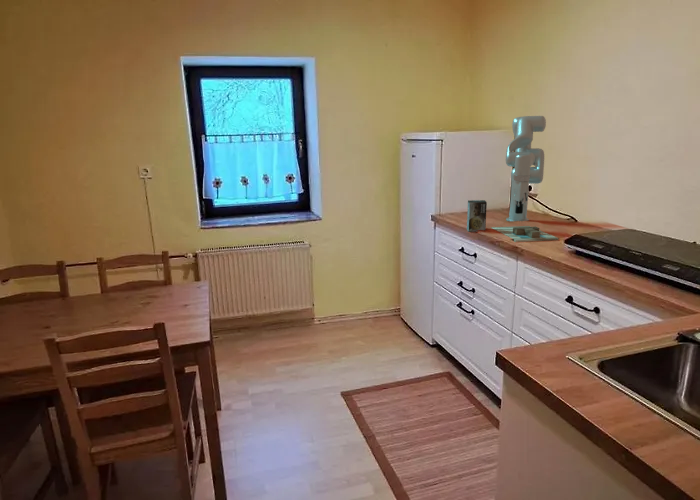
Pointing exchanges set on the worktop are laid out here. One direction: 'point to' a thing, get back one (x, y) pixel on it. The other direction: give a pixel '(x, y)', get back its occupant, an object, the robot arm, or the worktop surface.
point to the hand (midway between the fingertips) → (518, 213)
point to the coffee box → (476, 215)
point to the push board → (523, 238)
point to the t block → (527, 231)
